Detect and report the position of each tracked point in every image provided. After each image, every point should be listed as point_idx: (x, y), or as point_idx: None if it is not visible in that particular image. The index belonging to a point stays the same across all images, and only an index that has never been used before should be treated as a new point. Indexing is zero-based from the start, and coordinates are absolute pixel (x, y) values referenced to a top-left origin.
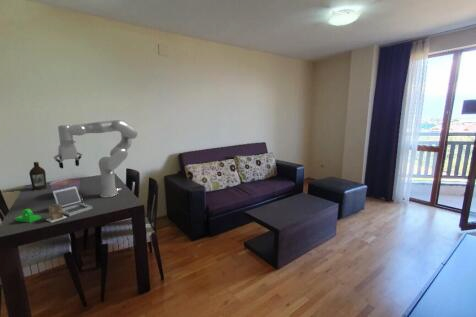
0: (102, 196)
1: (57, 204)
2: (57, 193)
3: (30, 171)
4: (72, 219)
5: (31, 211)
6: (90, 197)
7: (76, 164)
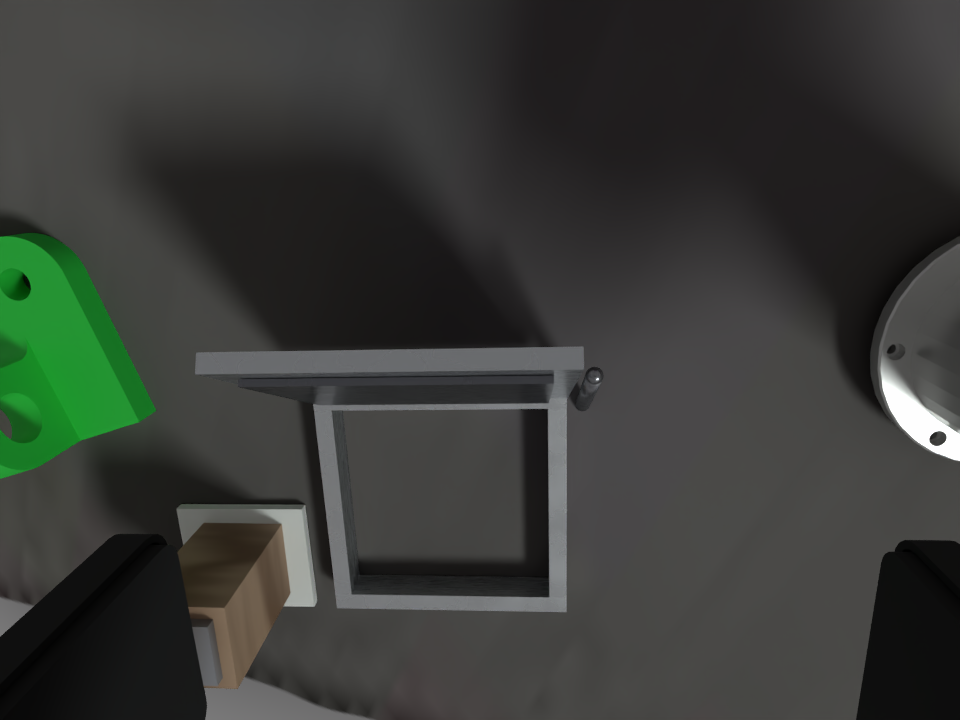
0: (875, 368)
1: (201, 665)
2: (269, 390)
3: None
4: (333, 675)
5: (18, 471)
6: (822, 135)
7: (908, 705)
